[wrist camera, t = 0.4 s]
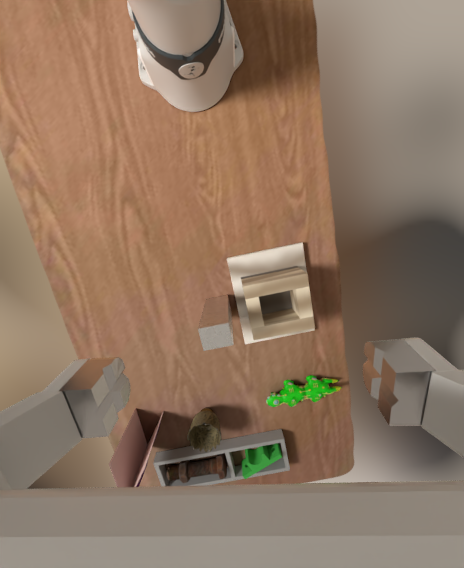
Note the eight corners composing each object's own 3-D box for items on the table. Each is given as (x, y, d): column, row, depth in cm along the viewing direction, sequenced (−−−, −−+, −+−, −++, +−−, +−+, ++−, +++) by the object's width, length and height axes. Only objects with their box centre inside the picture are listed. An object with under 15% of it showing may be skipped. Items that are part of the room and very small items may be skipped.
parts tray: (156, 452, 67) (153, 463, 64) (281, 428, 66) (284, 438, 63) (166, 481, 69) (164, 493, 67) (287, 459, 68) (290, 470, 66)
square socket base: (226, 257, 55) (227, 265, 46) (300, 242, 54) (315, 246, 46) (244, 341, 60) (248, 362, 51) (313, 328, 59) (327, 346, 51)
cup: (188, 403, 64) (182, 429, 56) (217, 396, 63) (215, 421, 56) (196, 428, 65) (193, 456, 58) (225, 421, 65) (224, 448, 57)
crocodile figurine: (262, 382, 63) (264, 394, 59) (335, 368, 62) (342, 378, 58) (266, 405, 64) (269, 418, 60) (338, 391, 64) (345, 403, 60)
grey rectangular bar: (205, 299, 57) (198, 328, 42) (227, 294, 57) (228, 322, 41) (209, 315, 58) (203, 350, 43) (231, 311, 58) (233, 344, 42)
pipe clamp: (270, 432, 67) (274, 447, 62) (278, 441, 67) (282, 457, 63) (235, 454, 68) (236, 470, 63) (244, 463, 69) (245, 479, 64)
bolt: (171, 458, 70) (224, 449, 69) (173, 479, 69) (228, 470, 68) (163, 467, 64) (221, 457, 63) (165, 490, 63) (225, 481, 62)
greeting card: (150, 446, 67) (129, 509, 52) (123, 436, 66) (93, 498, 51) (167, 412, 64) (149, 468, 50) (138, 401, 63) (112, 456, 49)
